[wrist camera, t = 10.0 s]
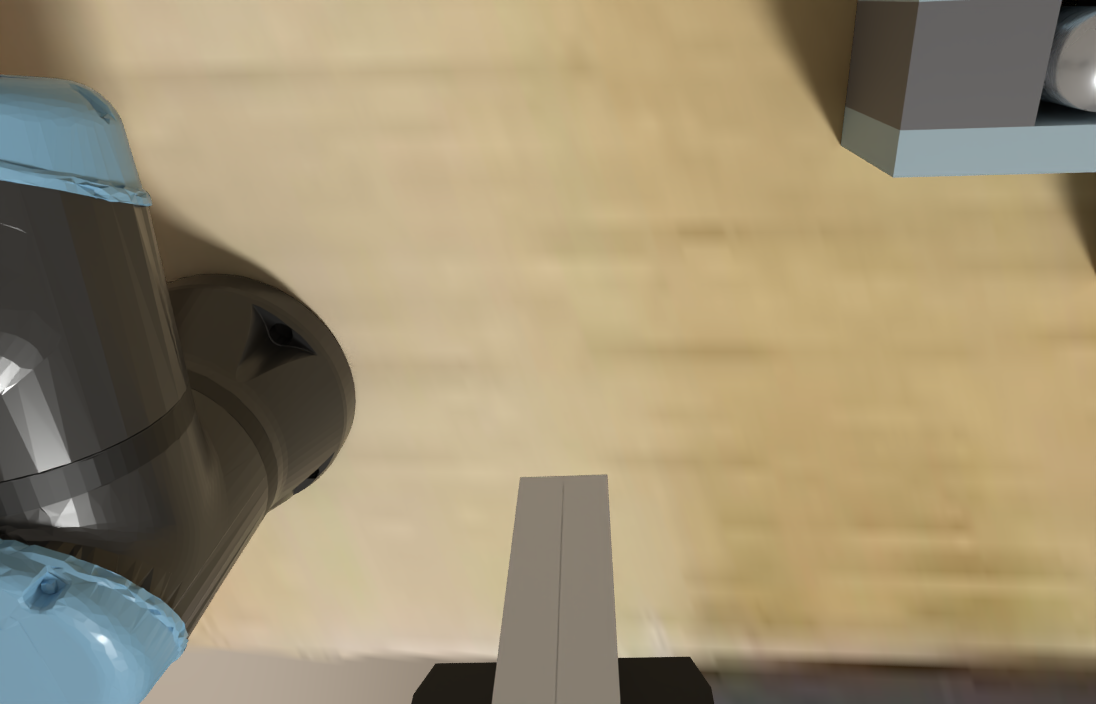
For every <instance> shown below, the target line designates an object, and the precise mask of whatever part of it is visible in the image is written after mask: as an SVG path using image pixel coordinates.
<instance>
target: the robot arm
mask: <svg viewBox="0 0 1096 704" xmlns="http://www.w3.org/2000/svg"><path fill="white" fill-rule="evenodd" d="M151 205H152V200H151V197H150V195H149V193H148V192H146V191H145V190H144V189H143V188H142V185H141V182H140V179H139V176H138V172H137V169H136V166H135V162H134V159H133V156H132V152H131V149H130V146H129V142H128V139H127V136H126V132H125V129H124V125H123V123H122V120H121V118H120V116H119V114H118V113H117V111H116V110H115V109H114V107H113V106H112V105H111V103H110V102H108V101H107V100H106V99H105V98H104V97H103V96H102V95H101V94H99V93H98V92H96V91H95V90H93V89H91V88H90V87H88V86H86V85H83V84H80V83H77V82H74V81H71V80H64V79H57V78H47V77H33V76H18V75H2V74H0V704H139V703H140V702H141V701H142V700H143V699H144V698H145V697H146V696H147V694H148V693H149V692H150V690H151V689H152V688H153V686H154V685H155V684H156V682H157V681H158V680H159V678H160V677H161V676H162V675H163V673H164V672H165V670H167V668H168V667H169V666H170V664H171V663H173V662H174V661H176V660H177V659H178V658H179V657H180V656H181V655H182V653H183V652H184V650H185V648H186V646H187V642H188V641H189V640H188V637H189V636H190V634H191V632H192V631H193V629H194V628H195V626H196V624H197V623H198V621H199V620H200V618H201V616H202V615H203V613H204V612H205V610H206V608H207V607H208V605H209V604H210V602H211V600H212V599H213V597H214V596H215V594H216V592H217V591H218V589H219V588H220V586H221V584H222V583H223V581H224V580H225V578H226V577H227V575H228V573H229V572H230V570H231V569H232V567H233V566H234V564H235V562H236V561H237V559H238V558H239V556H240V555H241V553H242V551H243V550H244V548H245V547H246V545H247V544H248V542H249V540H250V539H251V537H252V536H253V534H254V533H255V531H256V529H257V528H258V526H259V524H260V523H261V521H262V520H263V518H264V517H265V515H266V514H267V513H268V512H269V511H271V510H272V509H274V508H275V507H277V506H279V505H280V504H282V503H283V502H285V501H286V500H288V499H289V498H290V497H292V496H293V495H294V494H296V493H299V492H300V491H302V490H303V489H305V488H306V487H308V486H309V485H311V484H312V483H313V482H315V481H316V480H317V479H318V478H319V477H320V476H321V475H322V474H323V473H324V472H325V471H326V470H327V469H328V468H329V466H330V465H331V464H332V462H333V461H334V459H335V458H336V456H337V454H338V453H339V451H340V449H341V447H342V446H343V444H344V442H345V440H346V439H347V437H348V434H349V432H350V429H351V426H352V423H353V419H354V413H355V388H354V382H353V377H352V374H351V370H350V367H349V365H348V362H347V360H346V357H345V355H344V353H343V351H342V349H341V348H340V346H339V344H338V343H337V341H336V339H335V338H334V337H333V335H332V334H331V333H330V331H329V330H328V329H327V328H326V326H325V325H324V324H323V323H322V322H321V321H320V320H319V319H318V318H317V317H316V316H315V315H314V314H313V313H312V312H311V311H310V310H308V309H307V308H306V307H305V306H303V305H302V304H301V303H299V302H298V301H297V300H295V299H294V298H292V297H290V296H289V295H287V294H286V293H284V292H282V291H280V290H278V289H276V288H274V287H271V286H269V285H267V284H264V283H262V282H259V281H256V280H252V279H249V278H244V277H240V276H234V275H225V274H204V275H196V276H191V277H186V278H183V279H179V280H176V281H174V282H171V283H169V284H167V283H166V279H165V275H164V270H163V266H162V262H161V258H160V253H159V249H158V245H157V241H156V236H155V232H154V228H153V223H152V219H151V215H150V211H149V206H151ZM411 704H714V700H713V695H712V690H711V687H710V685H709V684H708V682H707V681H706V679H705V678H704V677H703V675H702V674H701V672H700V671H699V669H698V668H697V666H696V665H695V663H694V662H693V661H692V659H691V658H690V657H650V658H618V653H617V635H616V618H615V600H614V583H613V565H612V547H611V530H610V512H609V494H608V477H607V475H578V476H547V477H520V482H519V490H518V498H517V506H516V514H515V522H514V530H513V538H512V546H511V554H510V562H509V570H508V578H507V586H506V594H505V602H504V610H503V618H502V626H501V634H500V642H499V650H498V658H497V662H495V663H440V664H435V665H434V667H433V668H432V669H431V671H430V672H429V674H428V675H427V676H426V678H425V679H424V681H423V682H422V684H421V685H420V686H419V688H418V689H417V690H416V692H415V693H414V695H413V699H412V703H411Z"/></svg>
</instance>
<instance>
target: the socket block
mask: <svg viewBox="0 0 1096 704" xmlns="http://www.w3.org/2000/svg"><path fill="white" fill-rule="evenodd" d="M1061 2H1062V0H858V3H857V11H856V20H855V28H854V37H853V45H852V54H851V62H850V71H849V79H848V88H847V96H846V105H845V113H844V122H843V130H842V139H841V146H842V147H844V148H846V149H847V150H849V151H851V152H852V153H854V154H856V155H857V156H859V157H860V158H862V159H864V160H865V161H867V162H869V163H870V164H872V165H874V166H875V167H877V168H878V169H880V170H882V171H883V172H885V173H887V174H888V175H890V176H892V177H929V176H967V175H1006V174H1044V173H1082V172H1096V112H1091V111H1085V110H1081V109H1077V108H1073V107H1068V106H1064V105H1060V104H1055V103H1051V102H1047V101H1042V100H1040V98H1041V94H1042V89H1043V84H1044V80H1045V75H1046V71H1047V66H1048V62H1049V57H1050V52H1051V48H1052V43H1053V39H1054V34H1055V30H1056V25H1057V20H1058V16H1059V11H1060V7H1061ZM1077 6H1096V0H1078V3H1077Z"/></svg>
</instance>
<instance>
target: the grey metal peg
mask: <svg viewBox="0 0 1096 704" xmlns="http://www.w3.org/2000/svg"><path fill="white" fill-rule="evenodd" d="M1040 100H1042V101H1047V102H1051V103H1055V104H1060V105H1064V106H1068V107H1073V108H1077V109H1081V110H1085V111H1091V112H1096V6H1061V7H1060V11H1059V16H1058V20H1057V25H1056V30H1055V34H1054V39H1053V43H1052V48H1051V52H1050V57H1049V62H1048V66H1047V71H1046V75H1045V80H1044V84H1043V89H1042V94H1041V98H1040Z"/></svg>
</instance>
